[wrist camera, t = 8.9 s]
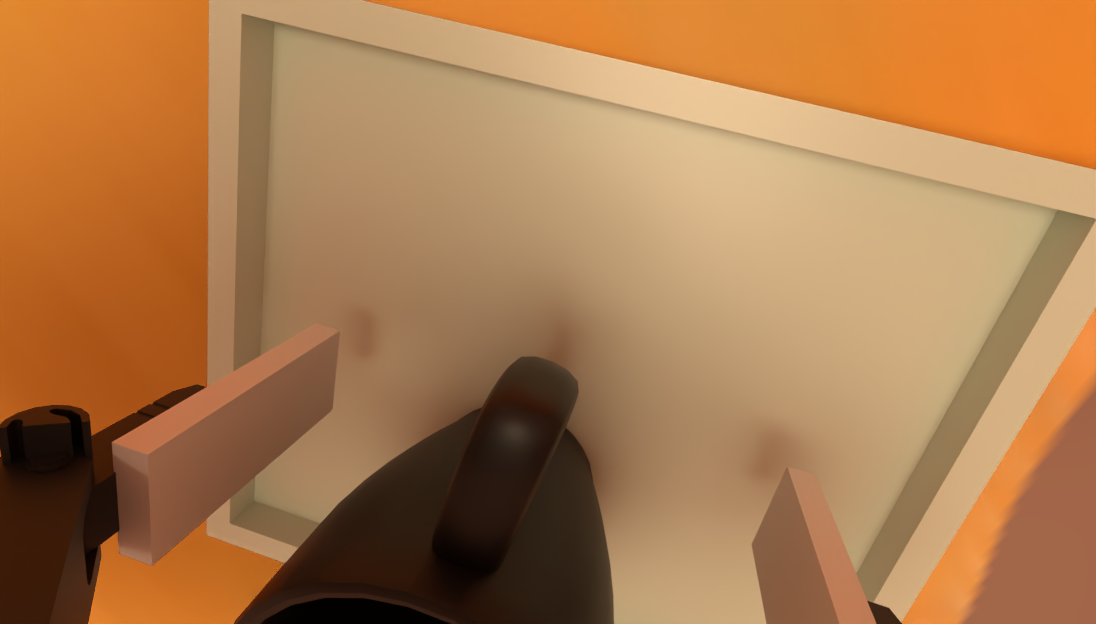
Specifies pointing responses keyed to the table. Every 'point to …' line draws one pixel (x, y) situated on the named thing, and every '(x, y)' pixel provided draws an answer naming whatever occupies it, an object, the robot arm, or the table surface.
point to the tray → (631, 287)
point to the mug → (463, 526)
